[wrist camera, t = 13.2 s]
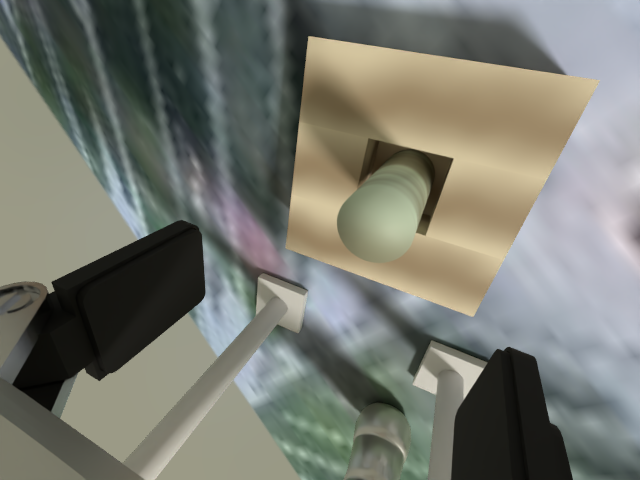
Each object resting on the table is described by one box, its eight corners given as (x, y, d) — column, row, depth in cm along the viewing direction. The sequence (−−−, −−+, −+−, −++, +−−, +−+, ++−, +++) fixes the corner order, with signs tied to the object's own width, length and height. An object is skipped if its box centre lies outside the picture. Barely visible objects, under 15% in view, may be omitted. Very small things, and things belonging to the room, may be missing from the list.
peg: (390, 143, 24) (344, 180, 15) (442, 156, 23) (425, 203, 14) (378, 191, 26) (331, 248, 17) (425, 204, 25) (401, 273, 16)
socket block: (335, 44, 24) (308, 36, 20) (571, 80, 20) (599, 80, 15) (309, 226, 32) (285, 248, 28) (472, 281, 28) (473, 317, 23)
